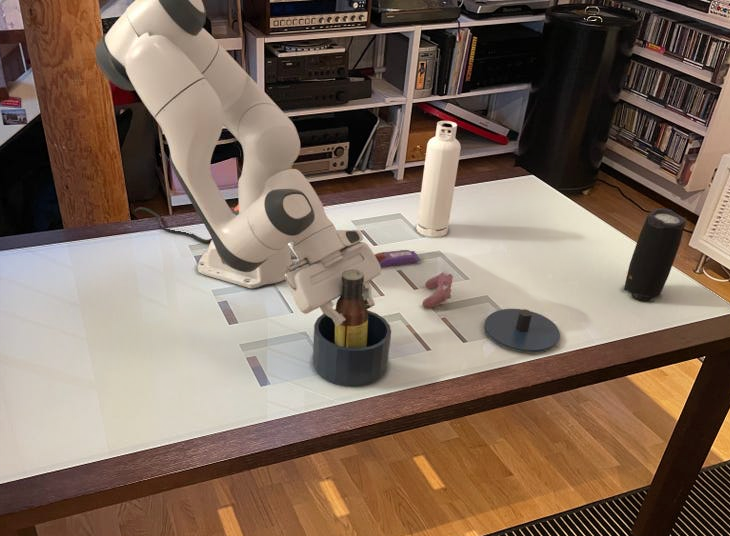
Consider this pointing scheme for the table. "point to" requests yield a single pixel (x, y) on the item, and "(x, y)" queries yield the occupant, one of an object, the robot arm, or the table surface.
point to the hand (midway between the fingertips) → (356, 315)
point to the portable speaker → (654, 254)
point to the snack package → (397, 258)
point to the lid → (522, 330)
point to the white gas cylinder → (438, 181)
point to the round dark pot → (351, 353)
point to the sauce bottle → (352, 312)
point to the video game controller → (443, 291)
